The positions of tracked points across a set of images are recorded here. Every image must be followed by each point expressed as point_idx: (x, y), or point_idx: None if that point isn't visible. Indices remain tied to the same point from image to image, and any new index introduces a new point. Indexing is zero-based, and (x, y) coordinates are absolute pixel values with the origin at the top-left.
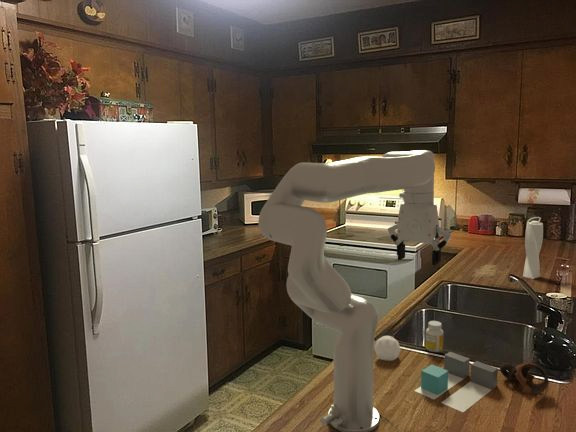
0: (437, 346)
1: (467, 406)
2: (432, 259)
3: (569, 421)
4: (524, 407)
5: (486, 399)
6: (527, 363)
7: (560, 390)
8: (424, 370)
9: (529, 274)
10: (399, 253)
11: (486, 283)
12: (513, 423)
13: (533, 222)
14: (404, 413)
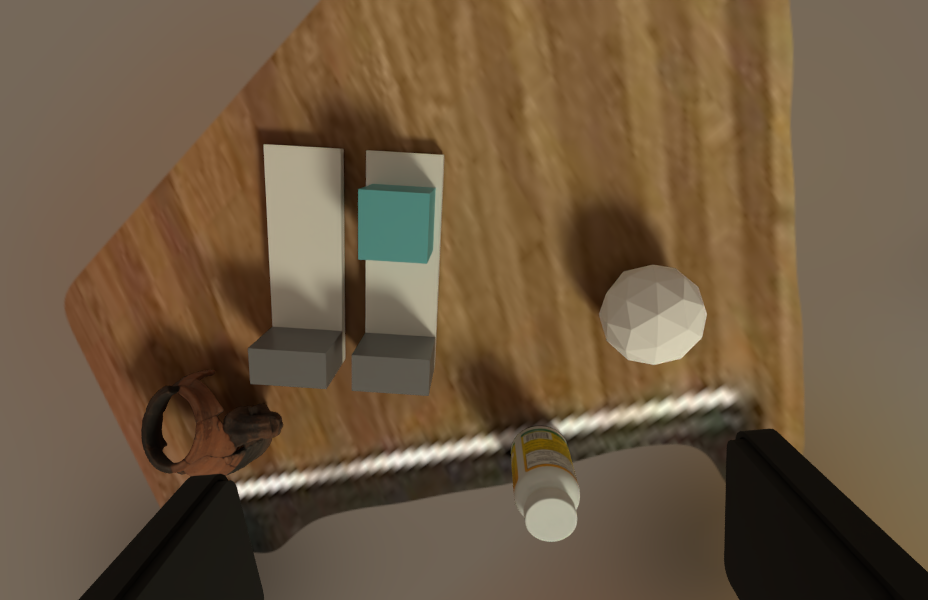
0: (519, 451)
1: (272, 186)
2: (185, 527)
3: (73, 324)
4: (180, 313)
5: None
6: (188, 458)
7: None
8: (422, 202)
9: None
10: (800, 488)
11: None
12: (158, 214)
13: None
14: (407, 28)
